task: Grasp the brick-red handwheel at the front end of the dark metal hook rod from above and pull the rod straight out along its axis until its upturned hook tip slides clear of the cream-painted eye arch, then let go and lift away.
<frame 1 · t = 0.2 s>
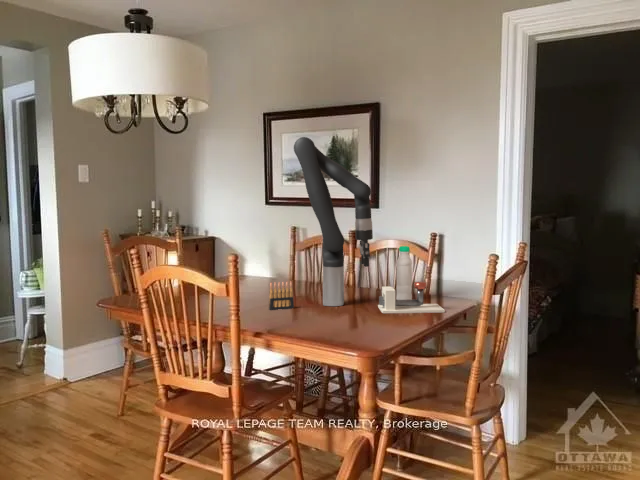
hand: (365, 265, 253), 18 cm above the table, tool pointing down, fingers open, 8 cm apart
eye post: (391, 309, 243), on the table
ammunition clip: (281, 309, 246), on the table
water bottle: (403, 300, 263), on the table
hook rod: (402, 294, 242), point 7 cm above the table, slide at 0.0 cm
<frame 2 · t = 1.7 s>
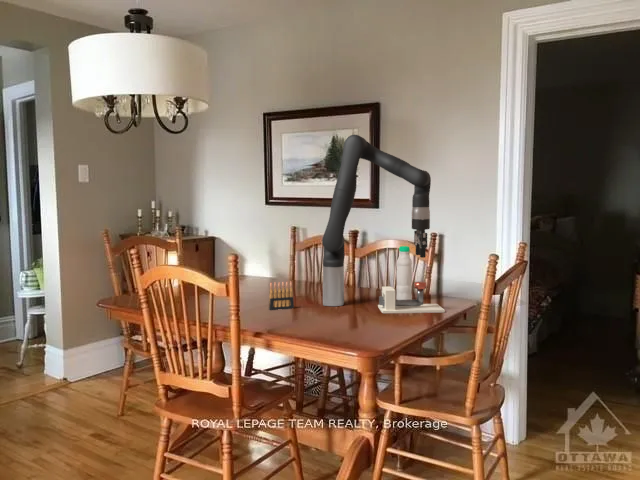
hand: (420, 256, 241), 23 cm above the table, tool pointing down, fingers open, 8 cm apart
nothing on the table moved.
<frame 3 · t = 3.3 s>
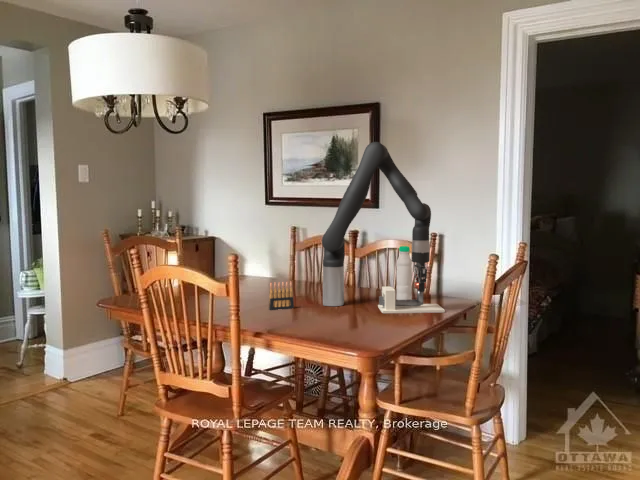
hand: (420, 290, 242), 8 cm above the table, tool pointing down, fingers closed on hook rod, 5 cm apart
hook rod: (402, 294, 242), point 7 cm above the table, slide at 0.0 cm, touching gripper
everything else where it was.
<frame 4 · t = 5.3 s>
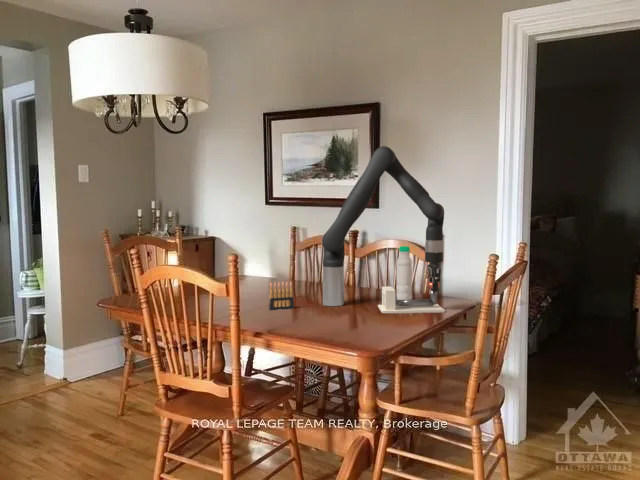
hand: (433, 290, 243), 8 cm above the table, tool pointing down, fingers closed on hook rod, 5 cm apart
hook rod: (416, 294, 243), point 7 cm above the table, slide at 5.7 cm, touching gripper
everything else where it was.
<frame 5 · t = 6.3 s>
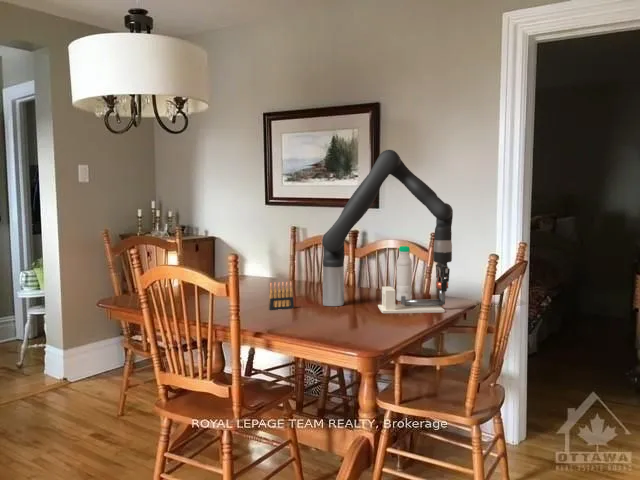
hand: (442, 290, 243), 8 cm above the table, tool pointing down, fingers closed on hook rod, 5 cm apart
hook rod: (424, 294, 243), point 7 cm above the table, slide at 9.5 cm, touching gripper
everything else where it was.
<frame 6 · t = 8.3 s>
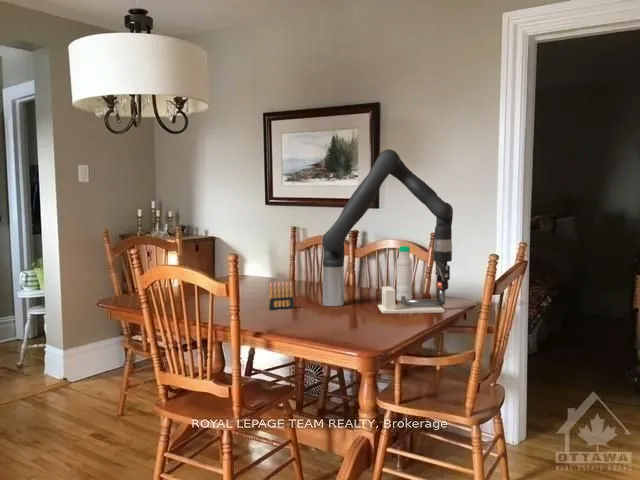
hand: (442, 287, 243), 9 cm above the table, tool pointing down, fingers open, 8 cm apart
hook rod: (424, 294, 243), point 7 cm above the table, slide at 9.5 cm
everything else where it was.
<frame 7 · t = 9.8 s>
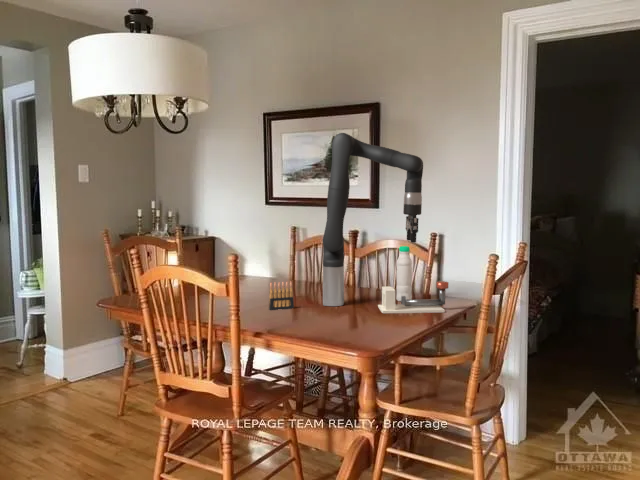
hand: (411, 241, 243), 29 cm above the table, tool pointing down, fingers open, 8 cm apart
nothing on the table moved.
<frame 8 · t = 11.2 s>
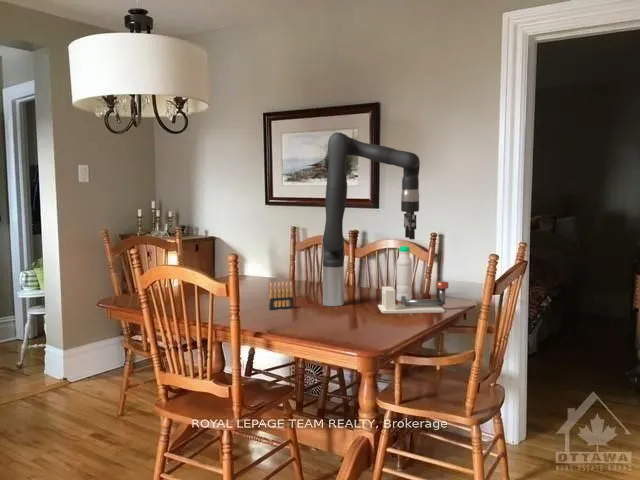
hand: (409, 238, 243), 30 cm above the table, tool pointing down, fingers open, 8 cm apart
nothing on the table moved.
at the end: hook rod slide at 9.5 cm; the gripper is holding nothing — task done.
